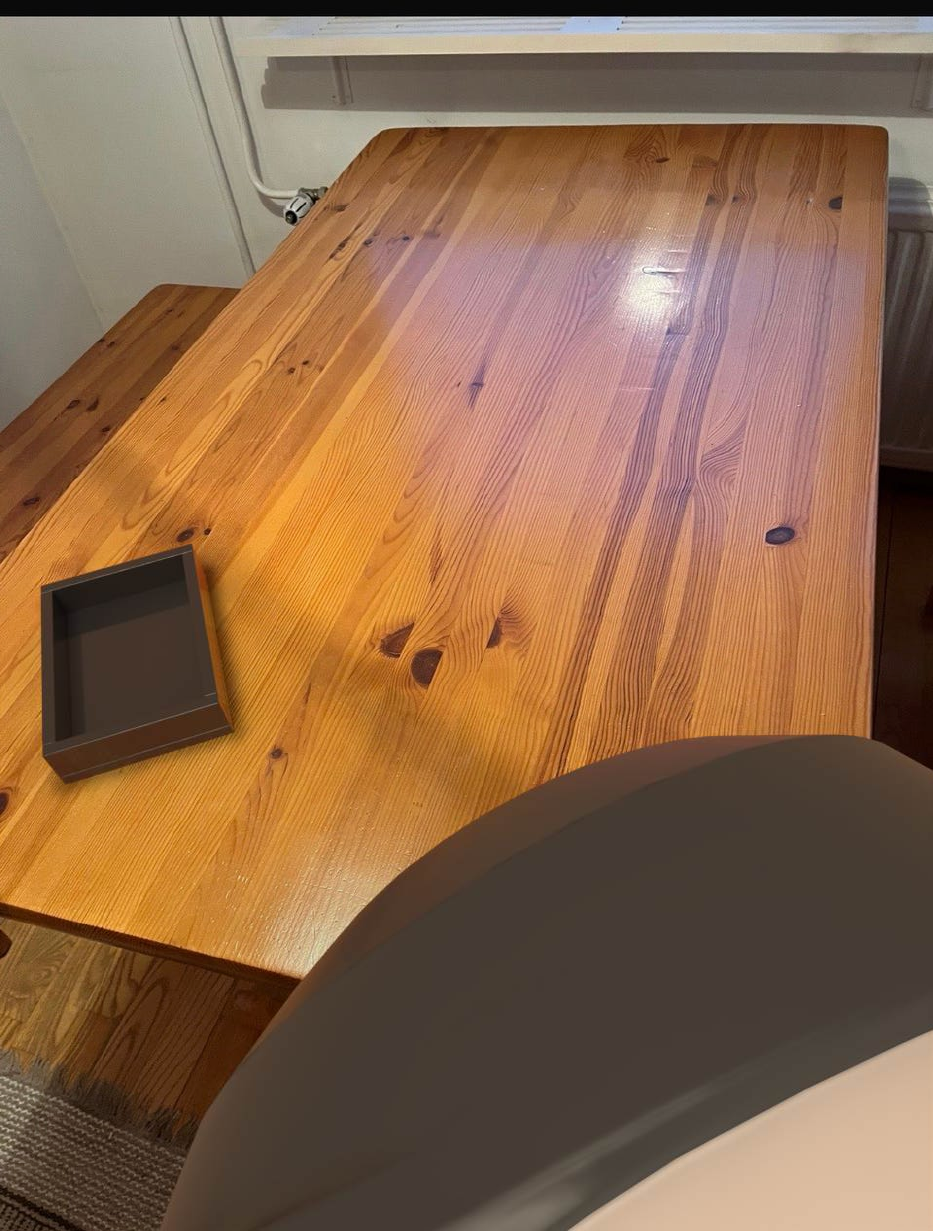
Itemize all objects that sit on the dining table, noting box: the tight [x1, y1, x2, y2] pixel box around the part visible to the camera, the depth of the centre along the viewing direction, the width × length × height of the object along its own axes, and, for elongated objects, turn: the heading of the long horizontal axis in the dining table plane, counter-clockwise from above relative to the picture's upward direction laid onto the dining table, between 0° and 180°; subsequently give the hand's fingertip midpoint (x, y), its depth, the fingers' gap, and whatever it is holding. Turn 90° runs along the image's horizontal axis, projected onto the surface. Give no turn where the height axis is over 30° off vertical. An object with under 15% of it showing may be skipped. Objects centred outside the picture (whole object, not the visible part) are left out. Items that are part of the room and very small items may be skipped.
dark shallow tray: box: [40, 543, 235, 785], centre depth 75 cm, size 18×13×4 cm
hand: (787, 927), depth 51 cm, fingers open, 8 cm apart
